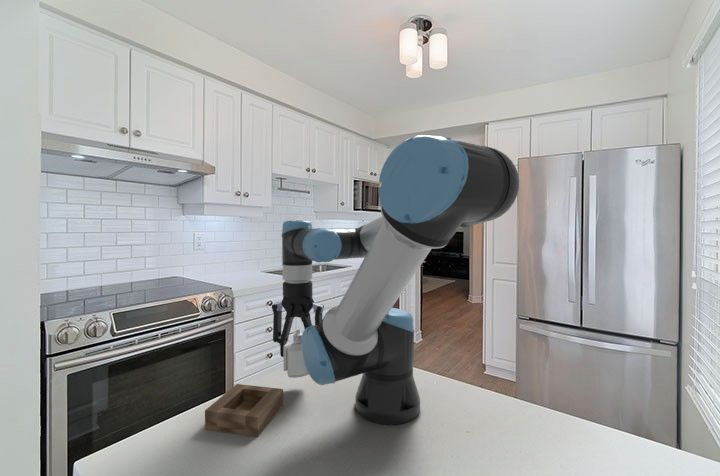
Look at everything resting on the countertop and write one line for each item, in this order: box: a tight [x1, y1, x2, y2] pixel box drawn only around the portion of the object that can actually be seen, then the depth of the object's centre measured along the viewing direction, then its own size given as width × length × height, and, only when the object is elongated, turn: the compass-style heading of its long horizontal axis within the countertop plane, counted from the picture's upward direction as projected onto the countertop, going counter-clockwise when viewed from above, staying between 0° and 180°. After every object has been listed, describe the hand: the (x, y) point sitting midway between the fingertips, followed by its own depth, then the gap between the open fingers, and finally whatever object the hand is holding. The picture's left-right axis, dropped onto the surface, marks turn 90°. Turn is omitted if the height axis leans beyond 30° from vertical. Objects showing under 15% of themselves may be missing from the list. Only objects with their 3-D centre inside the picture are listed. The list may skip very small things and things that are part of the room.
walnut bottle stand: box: [204, 383, 284, 437], centre depth 76 cm, size 12×12×4 cm
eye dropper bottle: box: [286, 328, 310, 378], centre depth 89 cm, size 4×6×12 cm
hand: (298, 369), depth 89 cm, fingers closed on eye dropper bottle, 5 cm apart
